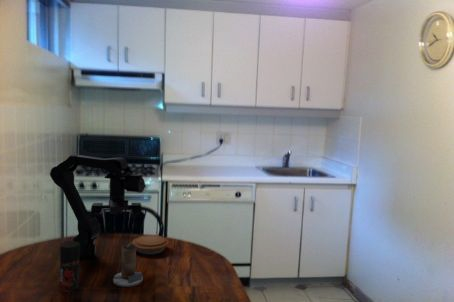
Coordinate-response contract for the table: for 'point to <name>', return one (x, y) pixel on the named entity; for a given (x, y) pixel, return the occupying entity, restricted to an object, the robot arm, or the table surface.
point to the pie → (150, 244)
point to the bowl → (131, 281)
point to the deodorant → (69, 266)
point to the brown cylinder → (128, 260)
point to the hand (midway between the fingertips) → (116, 229)
